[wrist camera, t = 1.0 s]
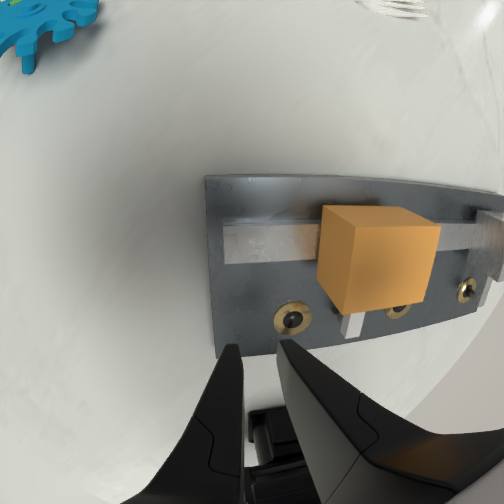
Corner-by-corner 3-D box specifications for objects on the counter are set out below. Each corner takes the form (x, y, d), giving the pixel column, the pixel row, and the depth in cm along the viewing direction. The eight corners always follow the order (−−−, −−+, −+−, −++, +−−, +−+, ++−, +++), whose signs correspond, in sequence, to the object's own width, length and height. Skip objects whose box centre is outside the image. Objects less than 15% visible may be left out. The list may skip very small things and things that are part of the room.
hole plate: (468, 305, 28) (503, 335, 21) (215, 346, 24) (220, 410, 17) (496, 193, 22) (543, 212, 16) (205, 175, 18) (203, 196, 12)
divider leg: (372, 316, 22) (404, 354, 18) (305, 325, 22) (329, 372, 17) (394, 203, 19) (441, 226, 14) (318, 202, 18) (355, 227, 13)
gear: (133, -2, 11) (-10, 62, 6) (114, 64, 16) (5, 140, 11) (50, -27, 9) (-57, 25, 4) (42, 25, 14) (-48, 83, 9)
